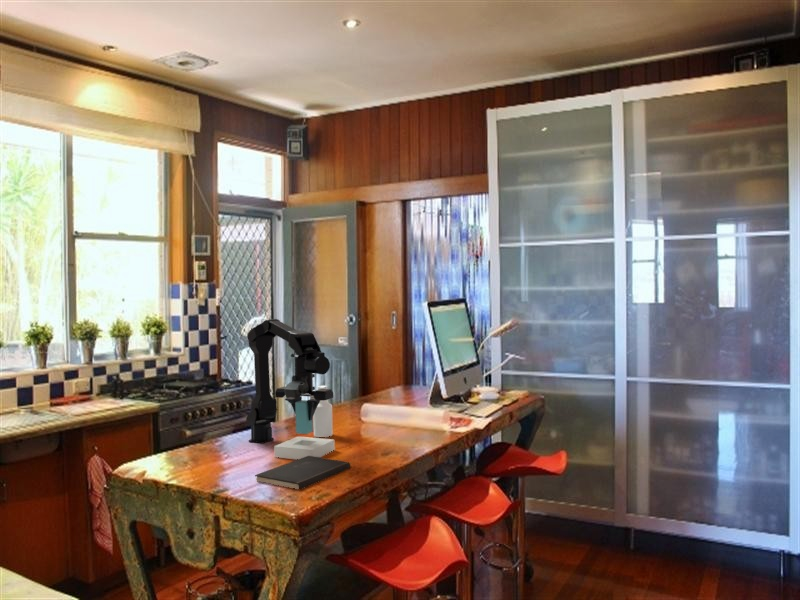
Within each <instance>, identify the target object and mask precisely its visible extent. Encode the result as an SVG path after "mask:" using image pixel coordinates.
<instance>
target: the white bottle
mask: <svg viewBox="0 0 800 600" xmlns="http://www.w3.org/2000/svg"><path fill="white" fill-rule="evenodd" d="M319 389H328V385H318V386H317V390H319ZM333 433H334V431H333V404H332V403H330V402H329V399H328V400H321V401H320V402H319V404H318V406H317V408H316V410H315V413H314V415H313V437H314V438H319V437H325V438H329V436H330V437H332V436H333Z"/></svg>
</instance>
